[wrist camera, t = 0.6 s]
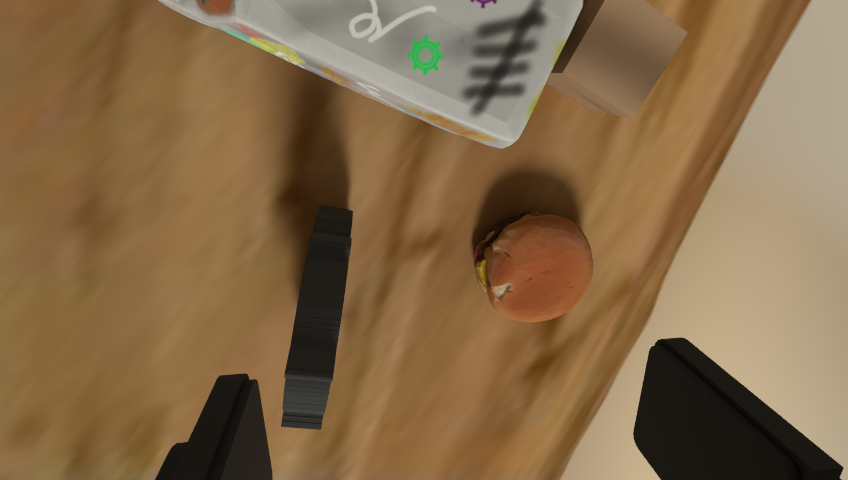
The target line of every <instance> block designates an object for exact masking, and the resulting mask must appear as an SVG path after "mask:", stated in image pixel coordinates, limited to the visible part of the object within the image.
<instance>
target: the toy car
mask: <svg viewBox="0 0 848 480" xmlns="http://www.w3.org/2000/svg"><path fill="white" fill-rule="evenodd" d="M159 1H160V2H162V3H163V4H165V5H166V6H168V7H170V8H172V9H173V10H175V11H177V12H179V13H181V14H183V15H185V16H187V17H189V18H191V19H194V20H196V21H198V22H200V23H203V24H205V25H208V26H211V27H215V28H219V29H221V30H223V31H225V32H227V33H229V34H231V35H233V36H235V37H238V38H240V39H242V40H244V41H246V42H248V43H250V44H252V45H255V46H257V47H259V48H261V49H263V50H265V51H267V52H269V53H271V54H274V55H276V56H278V57H280V58H282V59H284V60H286V61H288V62H290V63H293V64H295V65H297V66H299V67H301V68H304V69H306V70H308V71H310V72H312V73H315V74H317V75H319V76H321V77H324V78H326V79H328V80H330V81H332V82H335V83H337V84H339V85H341V86H343V87H346V88H348V89H350V90H352V91H355V92H357V93H359V94H362V95H364V96H366V97H369V98H371V99H374V100H376V101H378V102H381V103H383V104H385V105H388V106H390V107H392V108H395V109H397V110H399V111H402V112H404V113H406V114H409V115H411V116H414V117H417V118H419V119H421V120H424V121H426V122H428V123H430V124H432V125H434V126H437V127H439V128H442V129H444V130H446V131H449V132H452V133H455V134H459V135H462V136H465V137H467V138H470V139H473V140H475V141H478V142H480V143H483V144H485V145H488V146H492V147H497V148H501V149H502V148H505V147H507V146H510V145H512V144H513V143H514V142H515V141H516V140H517V139H518V138H519V137H520V135H521V133H522V131H523V129H524V127H525V125H526V123H527V121H528V119H529V117H530V115H531V113H532V111H533V109H534V107H535V105H536V103H537V101H538V98H539V96H540V94H541V92H542V90H543V88H544V86H545V84H546V81H547V79H548V77H549V75H550V73H551V71H552V69H553V67H554V65H555V63H556V61H557V59H558V57H559V55H560V53H561V51H562V49H563V47H564V45H565V43H566V41H567V39H568V37H569V35H570V33H571V30H572V28H573V26H574V24H575V22H576V20H577V17H578V15H579V13H580V11H581V9H582V7H583V0H159Z"/></svg>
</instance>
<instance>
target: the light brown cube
mask: <svg viewBox="0 0 848 480" xmlns="http://www.w3.org/2000/svg"><path fill="white" fill-rule="evenodd" d="M687 33H688V32H687V31H685V30H684V29H683V28H681V27H680V26H679V25H677V24H676V23H675V22H673V21H672V20H671V19H669V18H668V17H666V16H665V15H664V14H662V13H661V12H660V11H658V10H657V9H656V8H654V7H653V6H652V5H650V4H649V3H648V2H646V1H645V0H583V7H582V9H581V11H580V13H579V15H578V17H577V20H576V22H575V24H574V26H573V28H572V30H571V33H570V35H569V37H568V39H567V41H566V43H565V45H564V47H563V49H562V51H561V53H560V55H559V57H558V59H557V61H556V63H555V65H554V67H553V69H552V71H551V73H550V75H549V77H548V79H547V81H546V84H548V85H549V86H551V87H553V88H554V89H556V90H557V91H559V92H561V93H562V94H564V95H565V96H567V97H569V98H570V99H572V100H573V101H575V102H577V103H578V104H580V105H581V106H583V107H585V108H586V109H588V110H589V111H591V112H597V113H603V114H609V115H615V116H621V117H627V118H634V116H635V115H636V113H637V112H638V110H639V109H640V107H641V105H642V104H643V102H644V101H645V99H646V98H647V96H648V94H649V93H650V91H651V90H652V88H653V87H654V85H655V83H656V82H657V80H658V79H659V77H660V76H661V74H662V73H663V71H664V69H665V68H666V66H667V65H668V63H669V62H670V60H671V58H672V57H673V55H674V54H675V52H676V51H677V49H678V47H679V46H680V44H681V43H682V41H683V40H684V38H685V36H686V35H687Z"/></svg>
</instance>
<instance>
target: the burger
mask: <svg viewBox="0 0 848 480" xmlns="http://www.w3.org/2000/svg"><path fill="white" fill-rule="evenodd" d="M493 230H494V231H492V232H491V233H490V234H489V235H487V237H486V239H485V240H484V239H483V240H482V241H480V242H479V244H478V245H477V247H476V250H475V254H476V256H475V259H474V264H475V268H476V276H477V280H478V283H479V285H480V286H481V288H482V289H483V290H484V291H485V293H486V294H487V295H488V297H489V299H490V302H491V304H492V306H493V307H494V308H495V309H496V310H497V311H498V312H500V313H501V314H503V315H505V316H507V317H509V318H511V319H515V320H519V321H523V322H538V321H545V320H550V319H553V318H556V317H558V316H560V315H562V314H564V313H566V312H567V311H569V310H571V309H572V308H573V307H574V306H575V305H576V304H577V303H578V302H579V301H580V299H581V298H582V296H583V295H584V293H585V292H586V290H587V289H588V287H589V284H590V281H591V278H592V273H593V260H592V253H591V249H590V245H589V243H588V240H587V238H586V237H585V235H584V233H583V232H582V230H581V228H580V227H579V226H578V225H577V224H575V223H574V222H572V221H570V220H569V219H567V218H564V217H560V216H555V215H551V214H549V215H545V214H541V213H537V212H530V211H528V212H525V213H523V214H521V215H518V216H516V217H514V218H512V217H511V218H510V219H509V220H508V221H504V222H501V223H499V224H497V225H495V226H494V229H493Z"/></svg>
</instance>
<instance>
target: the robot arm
mask: <svg viewBox="0 0 848 480" xmlns="http://www.w3.org/2000/svg"><path fill="white" fill-rule="evenodd" d="M633 435H634V440H635V443H636V446H637V447H638V449H639V450H640V452H641V453H642V454H643V456H644V457H645V458H646V460H647V461H648V463H649V464H650V465H651V467H652V468H653V469H654V471H655V472H656V473H657V475H658V476H659V477H660V479H661V480H841V479H840V478H839V477H840V475H841V473H842V470H843V467H842V466H841V465H840V464H838V463H837V462H836V461H835V460H833V459H832V458H831V457H830V456H829V455H827V454H826V453H825V452H824V451H822V450H821V449H820V448H819V447H818V446H816V445H815V444H814V443H813V442H812V441H810V440H809V439H808V438H807V437H805V436H804V435H803V434H802V433H800V432H799V431H798V430H797V429H795V428H794V427H793V426H792V425H791V424H790V423H788V422H787V421H786V420H785V419H783V418H782V417H781V416H780V415H779V414H777V413H776V412H775V411H774V410H772V409H771V408H770V407H769V406H768V405H766V404H765V403H764V402H763V401H761V400H760V399H759V398H758V397H756V396H755V395H754V394H753V393H752V392H750V391H749V390H748V389H747V388H746V387H744V386H743V385H742V384H741V383H739V382H738V381H737V380H736V379H734V378H733V377H732V376H731V375H730V374H728V373H727V372H726V371H725V370H723V369H722V368H721V367H720V366H719V365H717V364H716V363H715V362H714V361H713V360H711V359H710V358H709V357H707V356H706V355H705V354H704V353H703V352H701V351H700V350H699V349H698V348H697V347H695V346H694V345H693V344H692V343H691V342H689V341H688V340H686V339H685V338H670V339H660V340H658V341H657V342H656V343H655V346H652V347H651V349H650V351H649V355H648V361H647V365H646V370H645V376H644V381H643V386H642V391H641V396H640V401H639V406H638V411H637V416H636V421H635V427H634V433H633ZM155 480H272V467H271V461H270V455H269V449H268V442H267V436H266V430H265V423H264V417H263V411H262V404H261V398H260V392H259V386H258V382H257V380H256V379H254V380H249V376H248V374H233V375H221V376H219V377H218V379H217V380H216V382H215V385H214V387H213V389H212V391H211V393H210V395H209V398H208V400H207V402H206V404H205V406H204V408H203V410H202V413H201V415H200V417H199V419H198V421H197V423H196V425H195V428H194V430H193V432H192V434H191V436H190V438H189V440H188V442H184V443H176V444H175V445H174V446H173V447H172V448H171V450H170V451H169V453H168V455H167V457H166V459H165V461H164V463H163V465H162V467H161V469H160V471H159V473H158V475H157V477H156V479H155Z"/></svg>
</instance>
